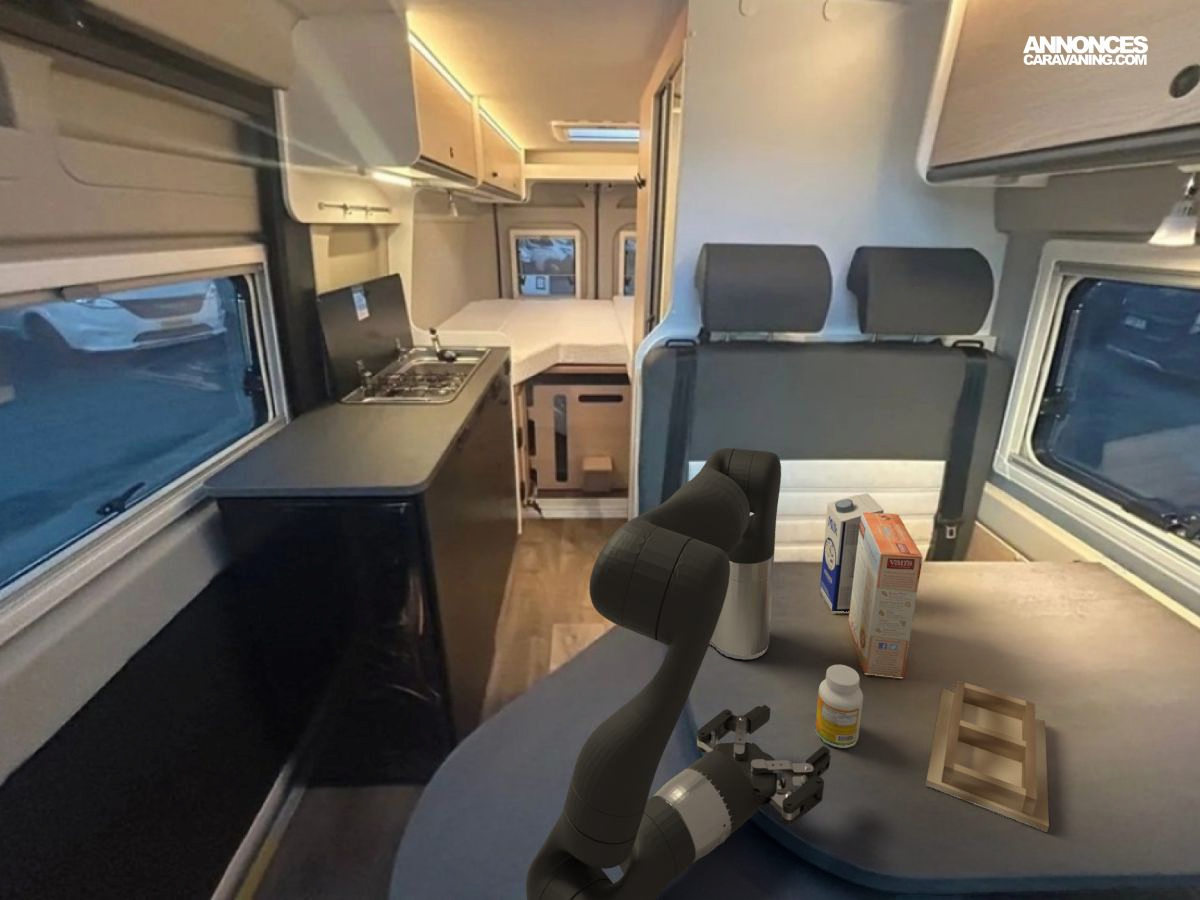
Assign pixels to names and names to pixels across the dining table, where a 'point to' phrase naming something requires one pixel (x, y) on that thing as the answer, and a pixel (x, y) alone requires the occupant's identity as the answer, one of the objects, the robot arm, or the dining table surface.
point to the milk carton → (843, 548)
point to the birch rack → (991, 753)
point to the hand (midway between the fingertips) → (795, 731)
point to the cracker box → (884, 593)
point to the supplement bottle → (839, 706)
